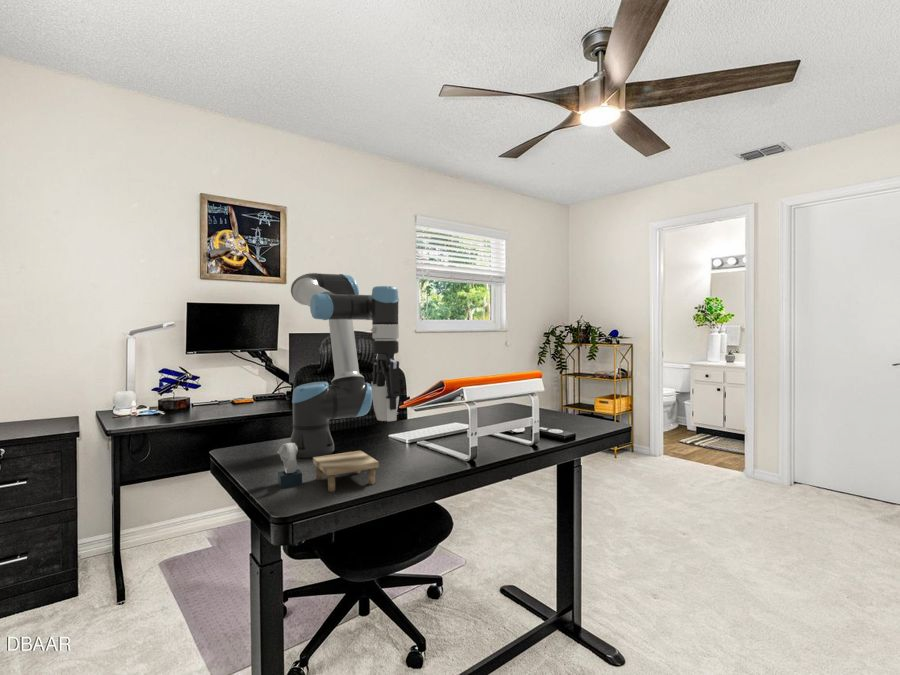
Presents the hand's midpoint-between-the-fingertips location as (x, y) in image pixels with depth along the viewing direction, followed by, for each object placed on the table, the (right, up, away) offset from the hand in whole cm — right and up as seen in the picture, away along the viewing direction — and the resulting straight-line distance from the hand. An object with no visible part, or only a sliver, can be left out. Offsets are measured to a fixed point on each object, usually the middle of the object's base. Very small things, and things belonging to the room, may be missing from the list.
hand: (385, 418), depth 139 cm
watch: (-25, -16, -10) cm, 31 cm away
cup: (0, 0, 0) cm, 0 cm away
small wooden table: (-10, -16, -8) cm, 20 cm away
